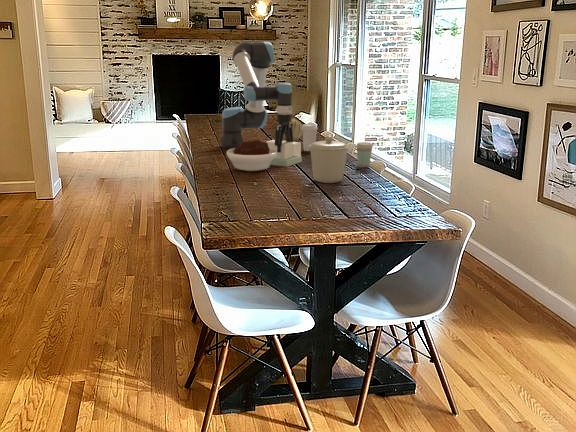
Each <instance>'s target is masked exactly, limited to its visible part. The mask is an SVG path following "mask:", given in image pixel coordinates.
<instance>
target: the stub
mask: <svg viewBox="0 0 576 432" xmlns="http://www.w3.org/2000/svg"><path fill="white" fill-rule="evenodd" d="M293 142H294V141H293ZM293 142H287V141H286V140H283V141H282V159H288V158H291V157H292V148H293ZM275 150H276V151H277V146H275ZM275 158H277V155H276V157H275ZM277 159H280V158H277Z"/></svg>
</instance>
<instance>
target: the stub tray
mask: <svg viewBox="0 0 576 432" xmlns="http://www.w3.org/2000/svg"><path fill="white" fill-rule="evenodd" d="M302 157H303V156H302V155H301V156H297V155H292V157H291V158H288V159H277V158H275V159H274V160H273V161H272V162H271V165H270V166H276V167H277V166H279V167H284V168H285V167H286V168H287V167H290V166H293V165H296V164H300V163H302V161H303V159H302Z"/></svg>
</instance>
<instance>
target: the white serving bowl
mask: <svg viewBox="0 0 576 432" xmlns="http://www.w3.org/2000/svg"><path fill="white" fill-rule="evenodd" d="M266 142H267V141H261V140H259V139H255V140H244V142H242V144H241V145H240V146H239V147H236V148H228V150H227V151H226V156H227V158H228V159H229V160H230V162H231V163H232V165H233V166H234V167H233V168H235V169H237V170H240V171H246V172H259V171H264V170H267V169H269V167H270V166H272V165H271V162H272V161H273V160H274V159H275V157H276V155H277V151H276V150H274V149H271V148H269V147H268V143H266Z"/></svg>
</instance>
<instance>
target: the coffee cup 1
mask: <svg viewBox="0 0 576 432" xmlns="http://www.w3.org/2000/svg"><path fill="white" fill-rule="evenodd" d="M301 129H302V145H303V147H302V148H303V151H304V152H311V149H310V147H309V145H310V144H312V143H314V142H317V141H316V140H317V131H318V129H319V128H318V126H317V124H313V123H310V124H309V123H306V124H302V128H301Z"/></svg>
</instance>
